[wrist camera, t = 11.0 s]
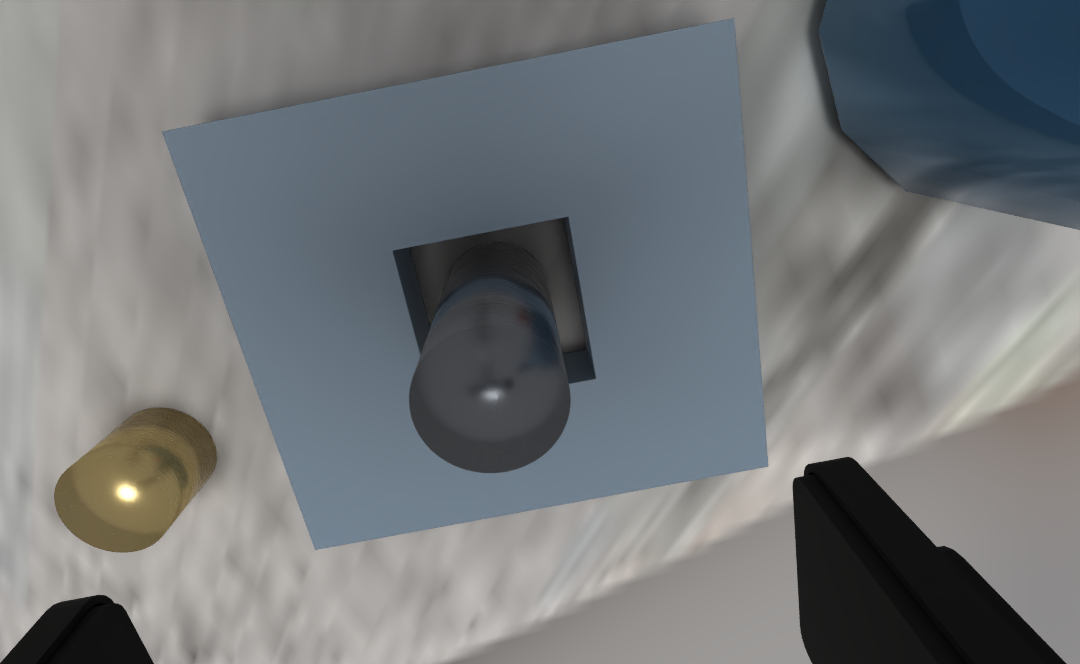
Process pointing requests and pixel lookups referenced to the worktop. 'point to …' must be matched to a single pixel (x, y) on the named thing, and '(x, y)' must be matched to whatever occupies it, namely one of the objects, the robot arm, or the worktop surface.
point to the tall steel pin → (492, 365)
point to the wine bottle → (964, 98)
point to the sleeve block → (478, 207)
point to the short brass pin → (136, 480)
